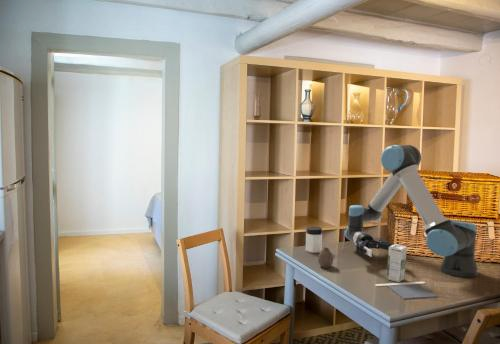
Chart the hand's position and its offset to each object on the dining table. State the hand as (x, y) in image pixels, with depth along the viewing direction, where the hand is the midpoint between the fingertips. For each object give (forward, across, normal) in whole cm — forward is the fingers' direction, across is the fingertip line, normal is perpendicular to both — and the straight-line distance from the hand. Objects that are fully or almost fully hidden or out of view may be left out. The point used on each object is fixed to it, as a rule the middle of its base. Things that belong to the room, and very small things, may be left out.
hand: (385, 253), depth 182 cm
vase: (-10, +24, -9) cm, 28 cm away
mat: (+23, +1, -8) cm, 25 cm away
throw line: (+15, +1, -8) cm, 17 cm away
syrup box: (+10, 0, -9) cm, 13 cm away
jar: (-35, +21, -9) cm, 42 cm away
